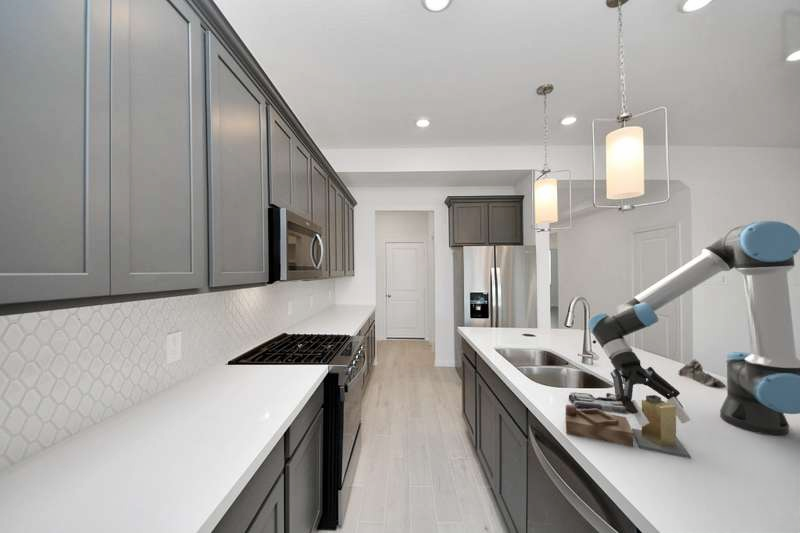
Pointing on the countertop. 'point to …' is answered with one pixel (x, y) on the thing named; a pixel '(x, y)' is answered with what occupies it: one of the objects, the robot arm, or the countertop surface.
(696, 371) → the rock
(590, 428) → the body
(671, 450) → the mat
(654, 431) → the labelled wooden block
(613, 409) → the toy gun
